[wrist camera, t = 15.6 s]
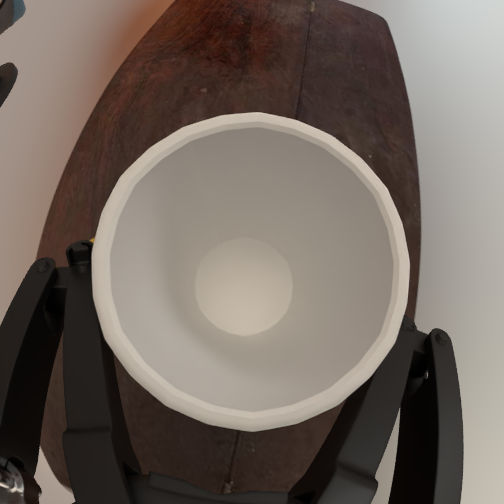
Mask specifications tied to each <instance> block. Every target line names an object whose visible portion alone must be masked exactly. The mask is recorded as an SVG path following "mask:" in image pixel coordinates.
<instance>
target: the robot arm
mask: <svg viewBox="0 0 504 504" xmlns="http://www.w3.org/2000/svg"><path fill="white" fill-rule="evenodd" d="M25 10H26V8H25V5H24V2H23V0H0V34H2V33H3V32H4V31H5V30H6V29H8V28H9V27H10V26H12V25H13V24H14V23H15V22H16V21H17V20H18V19H19V18H21V17H22V16H23V15H24V13H25ZM0 81H1V76H0ZM93 245H94V243H92V242H91V241H87V240H81V241H77V242H74V243H72V244H71V245H70V246H69V247H67V249H66V255H67V259H68V263H69V267H56V264H55V260H53V259H52V258H49V257H46V258H41V259H38V260H37V261H35V262H34V263H33V265H32V266H31V267H30V269H29V271H28V272H27V274H26V276H25V278H24V279H23V281H22V283H21V285H20V287H19V288H18V290H17V292H16V295H15V296H14V298H13V300H12V302H11V304H10V306H9V308H8V310H7V312H6V315H5V317H4V319H3V321H2V324H1V326H0V504H39V497H40V496H41V493H42V491H41V488H40V486H39V485H38V484H37V482H36V480H35V479H34V475H35V472H36V467H37V463H38V455H39V447H40V437H41V428H42V421H43V414H44V408H45V402H46V397H47V392H48V387H49V382H50V377H51V373H52V369H53V365H54V361H55V357H56V353H57V349H58V346H59V342H60V339H61V335H62V332H63V329H64V333H63V380H64V397H65V409H66V418H67V430H66V431H65V432H64V433H63V437H62V440H63V449H64V455H65V460H66V465H67V470H68V475H69V479H70V483H71V487H72V491H73V494H74V498H75V501H76V502H74V503H72V504H371V502H372V500H373V498H374V496H375V494H376V491H377V488H378V482H377V480H376V479H375V474H376V471H377V469H378V467H379V464H380V462H381V459H382V457H383V454H384V452H385V449H386V447H387V444H388V441H389V438H390V436H391V433H392V430H393V427H394V424H395V421H396V418H397V414H398V411H399V408H400V423H399V435H398V445H397V454H396V462H395V469H394V475H393V481H392V487H391V492H390V497H389V502H388V504H460V500H461V491H462V479H463V421H462V408H461V397H460V388H459V381H458V374H457V368H456V362H455V356H454V351H453V346H452V342H451V339H450V337H449V336H448V334H447V333H446V332H445V331H443V330H441V329H438V328H435V329H433V330H432V331H431V332H430V333H429V335H428V334H425V333H423V332H420V331H418V330H417V327H416V325H415V323H414V322H413V321H412V319H410V318H409V317H408V316H406V315H404V316H403V319H402V323H401V326H400V329H399V332H398V335H397V338H396V341H395V344H394V345H393V347H392V348H391V349H390V351H389V352H388V354H387V355H386V357H385V358H384V359H383V361H382V362H381V364H380V365H379V366H378V368H377V369H376V370H375V372H374V373H373V374H372V376H371V377H370V378H369V379H368V380H367V381H365V382H364V383H363V384H362V385H361V386H360V387H359V388H358V389H356V390H355V391H354V392H353V393H352V394H351V395H349V396H348V397H347V399H346V401H345V403H344V405H343V408H342V410H341V412H340V414H339V415H338V417H337V419H336V421H335V423H334V425H333V427H332V429H331V431H330V432H329V434H328V436H327V438H326V440H325V441H324V443H323V445H322V447H321V448H320V450H319V452H318V453H317V455H316V457H315V458H314V460H313V462H312V463H311V465H310V467H309V468H308V470H307V471H306V473H305V474H304V476H303V477H302V478H301V479H300V480H299V481H298V482H297V483H296V484H295V485H294V486H293V487H292V488H291V490H290V491H289V492H269V491H248V492H240V493H230V494H216V493H213V492H210V491H208V490H205V489H203V488H200V487H198V486H196V485H193V484H191V483H189V482H187V481H185V480H182V479H177V478H173V477H169V476H166V475H162V474H158V473H155V472H151V471H150V472H149V475H146V474H143V473H142V470H141V467H140V465H139V462H138V459H137V457H136V455H135V453H134V451H133V448H132V445H131V441H130V438H129V434H128V430H127V426H126V422H125V417H124V413H123V408H122V404H121V399H120V394H119V388H118V383H117V377H116V370H115V364H114V357H113V351H112V349H111V348H110V346H109V345H108V343H107V342H106V340H105V338H104V335H103V332H102V329H101V325H100V322H99V318H98V314H97V311H96V307H95V303H94V299H93V289H92V249H93ZM427 373H428V378H427Z"/></svg>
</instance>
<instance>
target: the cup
mask: <svg viewBox="0 0 504 504" xmlns="http://www.w3.org/2000/svg"><path fill="white" fill-rule="evenodd" d="M409 271H410V261H409V255H408V249H407V244H406V239H405V234H404V229H403V225H402V222H401V219H400V217H399V215H398V212H397V210H396V207H395V205H394V203H393V201H392V198H391V196H390V194H389V192H388V189H387V188H386V186H385V185H384V184H383V183H382V182H381V180H380V179H379V178H378V177H377V176H376V174H375V173H374V172H373V171H372V170H371V169H370V168H369V166H368V165H367V164H366V163H365V162H364V161H363V160H362V159H361V158H360V157H359V156H358V155H356V154H355V153H354V152H353V151H351V150H350V149H349V148H347V147H346V146H345V145H343V144H342V143H341V142H340V141H338V140H337V139H336V138H334V137H333V136H331V135H329V134H327V133H325V132H323V131H321V130H318V129H316V128H314V127H311V126H309V125H307V124H304V123H302V122H300V121H297V120H294V119H289V118H285V117H280V116H275V115H271V114H265V113H260V112H255V113H242V114H232V115H222V116H218V117H214V118H211V119H208V120H204V121H201V122H198V123H195V124H192V125H188V126H185V127H183V128H181V129H179V130H178V131H176V132H174V133H173V134H171V135H169V136H168V137H166V138H165V139H163V140H161V141H160V142H158V143H157V144H155V145H154V146H152V147H150V148H149V149H148V150H147V151H146V152H145V153H144V154H143V155H142V156H141V157H139V158H138V159H137V160H136V161H135V162H134V163H133V164H132V165H131V166H130V167H129V168H128V169H127V170H126V171H125V172H124V173H123V174H122V175H121V176H120V178H119V180H118V182H117V184H116V186H115V188H114V189H113V191H112V193H111V195H110V197H109V199H108V201H107V203H106V205H105V207H104V209H103V211H102V214H101V217H100V221H99V225H98V229H97V233H96V237H95V241H94V245H93V249H92V289H93V299H94V303H95V307H96V311H97V314H98V318H99V322H100V325H101V329H102V332H103V335H104V338H105V340H106V342H107V343H108V345H109V346H110V348H111V349H112V351H113V352H114V354H115V355H116V356H117V358H118V359H119V361H120V362H121V363H122V365H123V366H124V368H125V369H126V370H127V372H128V373H129V374H130V376H131V377H133V378H134V379H135V380H136V381H137V382H138V383H139V384H140V385H142V386H143V387H144V388H145V389H146V390H147V391H148V392H150V393H151V394H152V395H153V396H154V397H156V398H157V399H158V400H159V401H160V402H162V403H163V404H164V405H165V406H167V407H169V408H172V409H174V410H176V411H178V412H180V413H182V414H185V415H187V416H189V417H192V418H194V419H196V420H199V421H201V422H204V423H206V424H209V425H214V426H219V427H225V428H231V429H237V430H243V431H251V432H255V431H261V430H267V429H273V428H278V427H283V426H288V425H293V424H297V423H300V422H302V421H305V420H307V419H309V418H311V417H314V416H316V415H318V414H320V413H322V412H325V411H327V410H329V409H331V408H333V407H335V406H337V405H339V404H340V403H341V402H342V401H343V400H345V399H346V398H347V397H348V396H349V395H351V394H352V393H353V392H354V391H355V390H356V389H358V388H359V387H360V386H361V385H362V384H363V383H364V382H365V381H367V380H368V379H369V378H370V377H371V376H372V374H373V373H374V372H375V370H376V369H377V368H378V366H379V365H380V364H381V362H382V361H383V359H384V358H385V357H386V355H387V354H388V352H389V351H390V349H391V348H392V347H393V345H394V344H395V341H396V338H397V335H398V332H399V329H400V326H401V323H402V319H403V316H404V312H405V309H406V305H407V298H408V287H409Z"/></svg>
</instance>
